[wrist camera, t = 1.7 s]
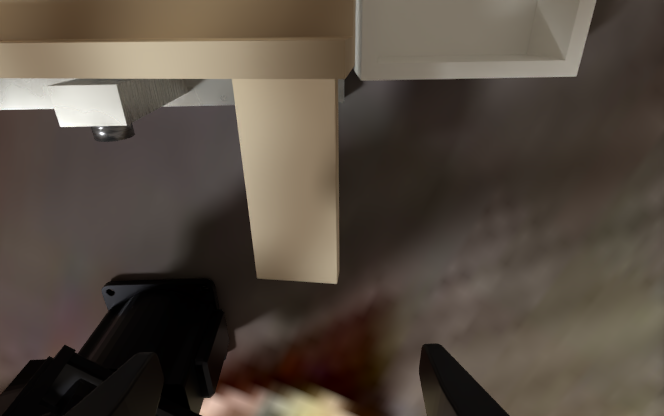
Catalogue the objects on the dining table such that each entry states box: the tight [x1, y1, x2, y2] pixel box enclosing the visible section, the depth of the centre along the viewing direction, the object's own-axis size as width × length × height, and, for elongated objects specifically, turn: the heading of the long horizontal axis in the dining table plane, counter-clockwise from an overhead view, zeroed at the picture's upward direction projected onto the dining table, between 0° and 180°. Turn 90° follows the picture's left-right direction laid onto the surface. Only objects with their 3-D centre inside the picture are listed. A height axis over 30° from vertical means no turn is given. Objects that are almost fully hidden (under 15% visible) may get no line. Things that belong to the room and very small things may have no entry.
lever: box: [0, 0, 356, 284], centre depth 12 cm, size 17×14×5 cm
